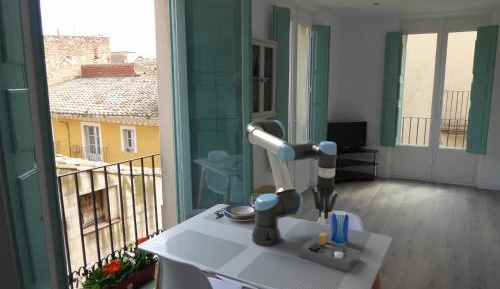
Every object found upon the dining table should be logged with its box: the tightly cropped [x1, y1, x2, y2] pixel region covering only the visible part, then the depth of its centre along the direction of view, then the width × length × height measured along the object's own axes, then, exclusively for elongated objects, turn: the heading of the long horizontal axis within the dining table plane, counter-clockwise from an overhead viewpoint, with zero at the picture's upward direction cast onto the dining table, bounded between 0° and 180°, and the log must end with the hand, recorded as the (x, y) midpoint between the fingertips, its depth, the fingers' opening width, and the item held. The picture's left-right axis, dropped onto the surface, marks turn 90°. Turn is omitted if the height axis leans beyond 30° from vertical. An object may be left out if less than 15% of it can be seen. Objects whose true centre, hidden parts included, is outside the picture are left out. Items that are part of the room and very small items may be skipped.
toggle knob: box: [318, 232, 328, 244], centre depth 169 cm, size 2×3×5 cm
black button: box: [310, 241, 319, 252], centre depth 164 cm, size 4×4×4 cm
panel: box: [298, 237, 361, 274], centre depth 164 cm, size 24×14×5 cm, turn 54°
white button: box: [334, 251, 344, 259], centre depth 157 cm, size 4×4×4 cm
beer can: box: [330, 210, 350, 246], centre depth 180 cm, size 8×8×16 cm
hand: (323, 224), depth 164 cm, fingers closed
